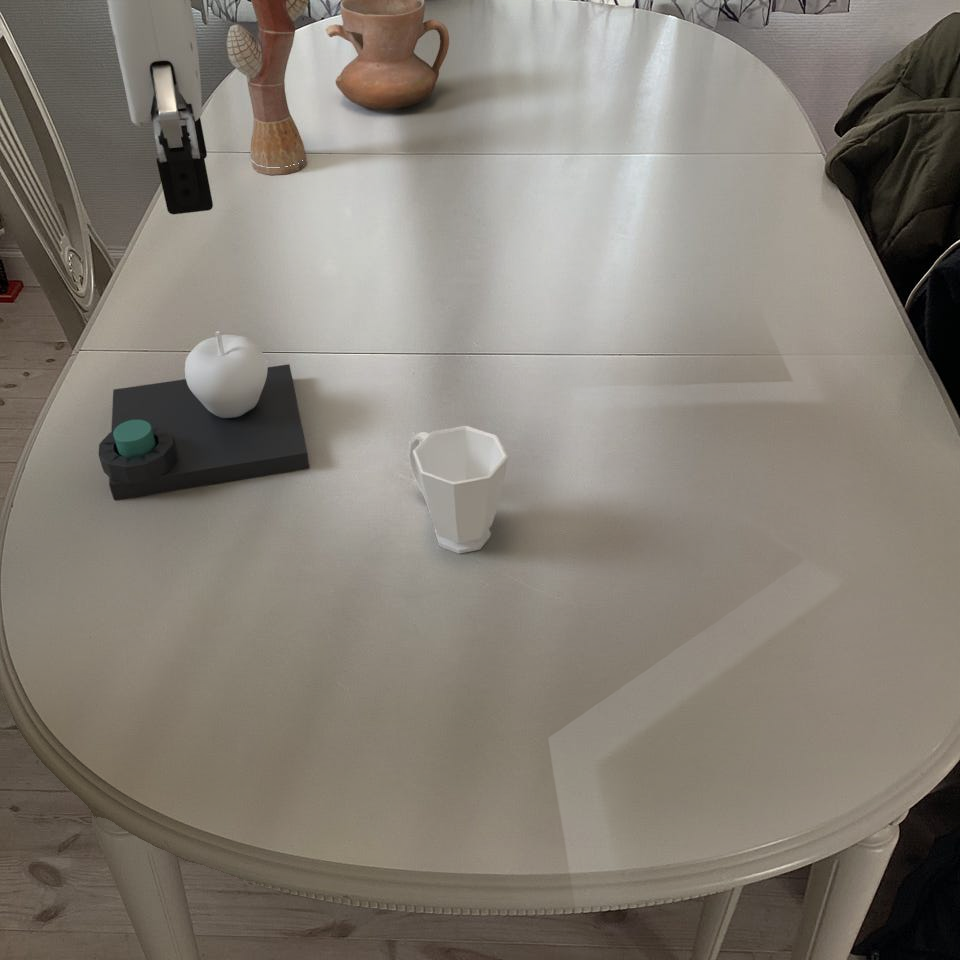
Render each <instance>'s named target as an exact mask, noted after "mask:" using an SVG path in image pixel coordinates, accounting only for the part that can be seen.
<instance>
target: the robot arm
mask: <svg viewBox="0 0 960 960" xmlns="http://www.w3.org/2000/svg"><path fill="white" fill-rule="evenodd" d="M106 4H107V8H108V13H109V19H110V25H111V29H112V34H113V39H114V44H115V48H116V53H117V58H118V63H119V66H120V72H121V77H122V80H123V81H122V82H123V86H124V91H125V96H126V100H127V105H128V106H127V107H128V111H129V116H130V121H131V123H133V124H134V126H136V127H139V128H140V127H141V128H142V127H143V124H144V123H149V122H150V120H151V123H152V128H153V134H154V135H153V136H154V140H155V145H156V151H157V156H158V157H156V164H157V168H158V173H159V178H160V182H161V187H162V191H163V197H164V201H165V205H166V210H167V212H168V213H169V214H171V215H180V214H189V213H190V214H191V213H199V212H206V211H212V209H213V207H214V202H213V197H212V193H211V187H210V186H211V185H210V180H209V176H208V170H207V165H206V161H205V159H206V158H207V156H208V153H207V146H206V142H205V136H204V130H203V125H202V120H201V116H203V105H202V104H203V103H202V102H203V100H202V85H201V84H202V80H201V67H200V56H199V49H198V40H197V33H196V26H195V21H194V20H195V19H194V14H193V8H192V2H191V0H106Z"/></svg>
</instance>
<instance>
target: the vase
mask: <svg viewBox="0 0 960 960" xmlns="http://www.w3.org/2000/svg"><path fill="white" fill-rule="evenodd" d="M250 1H251V5H252V8H253V12H254V15H255V18H256V22H257V26H258V29H257V36H256V37H255V36H254V35H253V34H252V33H250V32H249V31H248V30H247V29H246V28H245V27H243V26H242V25H240V24H237V23H236V24H233V25H231V26H230V27H229V29H228V32H227V38H226V49H227V56H228V59H229V61H230V63H231V65H232V66H233V67H234V68H235V69H236V70H237V71H238V72H239V73H241V74H242V75H244V76H245V77H246V81H247V89H248V93H249V98H250V102H251V107H252V115H253V126H252V127H253V128H252V134H251V140H250V162H251V167H252V168H253V169H254V170H255V171H256V172H257V173H259V174H262V175H263V174H264V175H268V176H280V175H281V176H282V175H288V174H289V175H290V174H293V173H296V172H301V170H302V169H303V168H305V167H306V166H307V164H308V163H307V153H306V149H305V144H304V142H303V139H302V136H301V134H300V131H299V129H298V127H297V125H296V123H295V121H294V119H293V117H292V115H291V113H290V109H289V106H288V105H289V104H288V100H287V94H286V83H285V79H286V72H287V67H288V63H289V59H290V55H291V51H292V48H293V45H294V40H295V34H296V25H295V21H296V20H297V19H298V18H299V17H300V16H301V15H303V14H304V13H305V11H306V9H307V8H308V6H309V0H250ZM251 159H252V160H253V161H254V162H255V163H256V164H257V165H262V166H265V167H261V166H257V165H256V164H255V163H253V162H252V161H251ZM302 160H303V161H302ZM298 163H299V164H298ZM293 164H295V165H293ZM290 165H291V166H290ZM285 166H288V167H285ZM266 167H280V168H266Z"/></svg>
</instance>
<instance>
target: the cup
mask: <svg viewBox="0 0 960 960" xmlns="http://www.w3.org/2000/svg"><path fill="white" fill-rule="evenodd" d="M508 458H509V457H508V454H507V452H506V450H505V448H504V446H503V443H502V442H501V439H500V438H499V436H498V435H497V434H494V433H490V432H488V431H485V430H483V429H482V430H481V429H478V428H475V427H472V426H469V425H460V426H456V427H449V428H444V429H439V430H433V431H431V432H430V433H428V432H426V431H421V432H418V433H416V434H414V435H413V436H412V437H411V438H410V439H409V442H408V449H407V460H408V465H409V468H410V472H411V475H412V477H413V479H414V481H415V483H416V486H417V487H418V489H419V491H420V493H421V494H422V496H423V497H424V501H425V504H426V507H427V510H428V512H429V514H430V517H431V521H432V522H433V525H434V535H435V537H436V540H437V542H438V545H439V547H440V548H442V549H446V550H448V551H450V552H453V553H455V554H458V555H461V554H465V553H469V552H475V551H480V550H481V549H482V548H483V547H484V545H485V544H486V543H487V542H488V541H489V539H490V538H491V537H492V536H491V535H492V533H491V531H490V528H491V527H492V526H493V522H494V520H495V517H496V514H497V512H498V509H499V505H500V499H501V494H502V489H503V485H504V484H503V483H504V479H505V474H506V469H507V464H508Z"/></svg>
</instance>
